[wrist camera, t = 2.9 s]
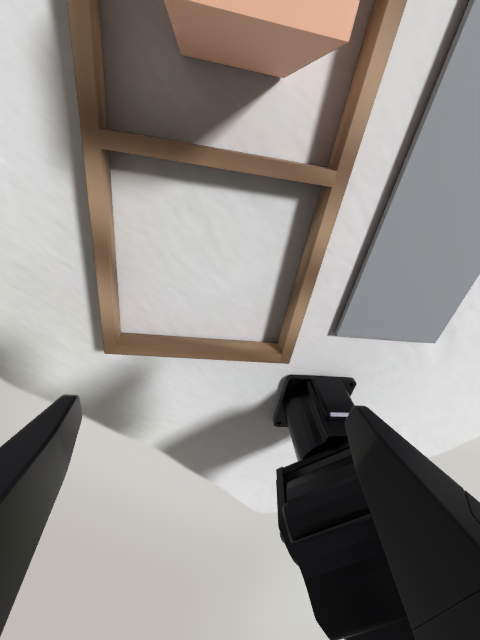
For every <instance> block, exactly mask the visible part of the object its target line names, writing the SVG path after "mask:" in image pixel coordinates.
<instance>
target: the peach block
mask: <svg viewBox="0 0 480 640" xmlns="http://www.w3.org/2000/svg"><path fill="white" fill-rule="evenodd" d="M359 2H360V0H164V3H165V6H166V9H167V12H168V15H169V18H170V21H171V25H172V28H173V31H174V34H175V37H176V40H177V43H178V46H179V50H180V53H181V55H184V56H188V57H193V58H197V59H201V60H206V61H210V62H215V63H219V64H223V65H228V66H232V67H237V68H241V69H245V70H250V71H254V72H259V73H263V74H267V75H272V76H276V77H281V78H285V77H286V76H288V75H290V74H292V73H294V72H296V71H297V70H299V69H301V68H303V67H305V66H306V65H308V64H310V63H312V62H314V61H315V60H317V59H319V58H321V57H323V56H324V55H326V54H328V53H330V52H332V51H333V50H335V49H337V48H339V47H341V46H342V45H344V44H346V43H348V42H349V39H350V36H351V32H352V28H353V24H354V21H355V17H356V13H357V9H358V5H359Z"/></svg>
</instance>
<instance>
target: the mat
mask: <svg viewBox="0 0 480 640" xmlns="http://www.w3.org/2000/svg"><path fill="white" fill-rule="evenodd" d="M479 274H480V0H470V1H469V3H468V5H467V8H466V10H465V13H464V15H463V18H462V20H461V23H460V25H459V28H458V30H457V33H456V35H455V38H454V40H453V43H452V45H451V47H450V50H449V52H448V55H447V57H446V60H445V62H444V65H443V67H442V70H441V72H440V75H439V77H438V80H437V82H436V85H435V87H434V89H433V92H432V94H431V97H430V99H429V102H428V104H427V107H426V109H425V112H424V114H423V117H422V119H421V122H420V124H419V127H418V129H417V132H416V134H415V136H414V139H413V141H412V144H411V146H410V149H409V151H408V154H407V156H406V159H405V161H404V164H403V166H402V169H401V171H400V174H399V176H398V178H397V181H396V183H395V186H394V188H393V191H392V193H391V196H390V198H389V201H388V203H387V206H386V208H385V211H384V213H383V216H382V218H381V220H380V223H379V225H378V228H377V230H376V233H375V235H374V238H373V240H372V243H371V245H370V248H369V250H368V253H367V255H366V258H365V260H364V263H363V265H362V267H361V270H360V272H359V275H358V277H357V280H356V282H355V285H354V287H353V290H352V292H351V295H350V297H349V300H348V302H347V305H346V307H345V309H344V312H343V314H342V317H341V319H340V322H339V324H338V327H337V329H336V332H335V334H336V335H337V336H344V337H358V338H372V339H385V340H399V341H412V342H426V343H436V341H437V340H438V338H439V337H440V335H441V333H442V332H443V330H444V329H445V327H446V326H447V324H448V322H449V321H450V319H451V318H452V316H453V315H454V313H455V311H456V310H457V308H458V307H459V305H460V304H461V302H462V300H463V299H464V297H465V296H466V294H467V293H468V291H469V290H470V288H471V286H472V285H473V283H474V282H475V280H476V279H477V277H478V275H479Z"/></svg>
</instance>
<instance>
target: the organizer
mask: <svg viewBox="0 0 480 640" xmlns="http://www.w3.org/2000/svg"><path fill="white" fill-rule="evenodd" d="M406 2H407V0H375V2H374V6H373V9H372V13H371V16H370V20H369V23H368V27H367V30H366V34H365V37H364V41H363V44H362V48H361V51H360V55H359V58H358V62H357V66H356V69H355V73H354V76H353V80H352V83H351V87H350V90H349V94H348V97H347V101H346V104H345V108H344V111H343V115H342V118H341V122H340V125H339V129H338V132H337V136H336V139H335V143H334V146H333V150H332V153H331V157H330V160H329V164H328V167H327V168H326V167H321V166H315V165H309V164H304V163H298V162H292V161H287V160H281V159H276V158H270V157H264V156H259V155H253V154H247V153H242V152H236V151H231V150H225V149H219V148H214V147H208V146H202V145H197V144H191V143H185V142H180V141H174V140H169V139H163V138H157V137H152V136H146V135H140V134H135V133H129V132H124V131H118V130H112V129H107V115H106V100H105V84H104V69H103V54H102V38H101V23H100V8H99V0H67V4H68V13H69V23H70V32H71V42H72V51H73V60H74V70H75V79H76V89H77V98H78V108H79V117H80V127H81V136H82V146H83V155H84V164H85V174H86V183H87V193H88V202H89V212H90V221H91V231H92V240H93V249H94V259H95V268H96V278H97V287H98V297H99V306H100V316H101V325H102V335H103V344H104V353H105V354H121V355H139V356H157V357H176V358H194V359H212V360H231V361H249V362H267V363H285V364H289V362H290V359H291V356H292V353H293V350H294V347H295V344H296V340H297V337H298V334H299V331H300V328H301V325H302V322H303V319H304V316H305V313H306V310H307V307H308V304H309V300H310V297H311V294H312V291H313V288H314V285H315V282H316V279H317V276H318V273H319V270H320V267H321V264H322V261H323V257H324V254H325V251H326V248H327V245H328V242H329V239H330V236H331V233H332V230H333V227H334V224H335V221H336V218H337V214H338V211H339V208H340V205H341V202H342V199H343V196H344V193H345V190H346V187H347V184H348V181H349V178H350V175H351V171H352V168H353V165H354V162H355V159H356V156H357V153H358V150H359V147H360V144H361V141H362V138H363V135H364V132H365V128H366V125H367V122H368V119H369V116H370V113H371V110H372V107H373V104H374V101H375V98H376V95H377V92H378V88H379V85H380V82H381V79H382V76H383V73H384V70H385V67H386V64H387V61H388V58H389V55H390V52H391V49H392V45H393V42H394V39H395V36H396V33H397V30H398V27H399V24H400V21H401V18H402V15H403V12H404V9H405V6H406ZM109 150H111V151H117V152H124V153H130V154H136V155H142V156H148V157H154V158H160V159H166V160H172V161H178V162H184V163H190V164H196V165H202V166H208V167H214V168H220V169H226V170H232V171H238V172H244V173H250V174H256V175H262V176H268V177H274V178H280V179H286V180H292V181H298V182H304V183H310V184H316V185H322V188H321V192H320V195H319V199H318V203H317V206H316V210H315V213H314V217H313V220H312V224H311V227H310V231H309V234H308V238H307V241H306V245H305V248H304V252H303V255H302V259H301V262H300V266H299V269H298V273H297V276H296V280H295V283H294V287H293V290H292V294H291V297H290V301H289V304H288V308H287V311H286V315H285V318H284V322H283V325H282V329H281V332H280V336H279V339H278V343H267V342H252V341H237V340H222V339H207V338H192V337H177V336H162V335H147V334H132V333H121V329H120V314H119V298H118V283H117V268H116V252H115V237H114V222H113V207H112V191H111V176H110V161H109Z"/></svg>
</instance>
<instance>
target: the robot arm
mask: <svg viewBox="0 0 480 640" xmlns="http://www.w3.org/2000/svg"><path fill="white" fill-rule="evenodd" d="M293 380H294V381H293ZM355 386H356V382H355V380H354V379H353V378H345V377H324V376H303V375H291V376H289V377H288V378H287V379H286V382H285V385H284V388H283V391H282V394H281V397H280V400H279V403H278V407H277V410H276V413H275V416H274V419H273V423H274V425H275V426H277V427H288V428H289V431H290V435H291V438H292V442H293V445H294V449H295V453H296V456H297V460H298V462H296V463H293V464H291V465H289V466H286V467H281V468H278V469H276V472H277V480H276V485H277V505H278V526H279V530H280V537H281V539H282V541H283V542H284V543H285V545H286V547H287V549H288V552H289V554H290V555H291V557H292V559H293V560H294V562H295V563H296V564H297V565H298V566H299V567H300V570H301V573H302V575H303V578H304V581H305V584H306V587H307V591H308V594H309V598H310V601H311V605H312V608H313V612H314V616H315V618H316V621H317V622H318V624H319V625H320V626H321V628H322V629H323V631H324V632H325V634H326V635H327V637H328V638H329V639H330V640H340V639H343V638H344V639H345V640H480V502H478V501H477V500H476V499H475V498H474V497H473V496H471V495H470V494H469V493H468V492H467V491H464V489H463V488H462V487H461V486H460V485H458V484H457V483H456V482H455V481H454V480H453V479H451V478H450V477H449V476H448V475H447V474H445V473H444V472H443V471H442V470H441V469H440V468H438V467H437V466H436V465H435V464H434V463H432V462H431V461H430V460H429V459H428V458H427V457H425V456H424V455H423V454H422V453H421V452H420V451H418V450H417V449H416V448H415V447H414V446H412V445H411V444H410V443H409V442H408V441H407V440H405V439H404V438H403V437H402V436H401V435H399V434H398V433H397V432H396V431H395V430H394V429H392V428H391V427H390V426H389V425H388V424H386V423H385V422H384V421H383V420H382V419H381V418H379V417H378V416H377V415H376V414H375V413H373V412H372V411H371V410H370V409H369V408H367V407H366V406H355V405H354V403H353V401H352V400H351V398H350V396H351V394H352V392H353V390H354V388H355ZM81 420H82V410H81V404H80V398H79V396H78V395H63V396H61V397H60V398H59V399H57V400H56V401H55V402H54V403H53V404H51V405H50V406H49V407H48V408H47V409H45V410H44V411H43V412H42V413H41V414H40V415H38V416H37V417H36V418H35V419H34V420H32V421H31V422H30V423H29V424H27V425H26V426H25V427H24V428H23V429H22V430H20V431H19V432H18V433H17V434H16V435H14V436H13V437H12V438H11V439H10V440H8V441H7V442H6V443H5V444H4V445H2V446H1V447H0V636H1V634H2V631H3V629H4V626H5V624H6V621H7V619H8V616H9V614H10V611H11V609H12V606H13V604H14V601H15V599H16V596H17V594H18V592H19V589H20V586H21V584H22V582H23V579H24V577H25V574H26V572H27V569H28V567H29V564H30V562H31V559H32V557H33V554H34V552H35V549H36V547H37V545H38V542H39V540H40V537H41V535H42V532H43V530H44V527H45V525H46V522H47V520H48V517H49V515H50V513H51V510H52V508H53V505H54V503H55V500H56V497H57V495H58V493H59V490H60V488H61V485H62V483H63V480H64V478H65V475H66V472H67V469H68V466H69V463H70V459H71V456H72V452H73V448H74V445H75V441H76V438H77V434H78V430H79V427H80V424H81Z"/></svg>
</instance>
